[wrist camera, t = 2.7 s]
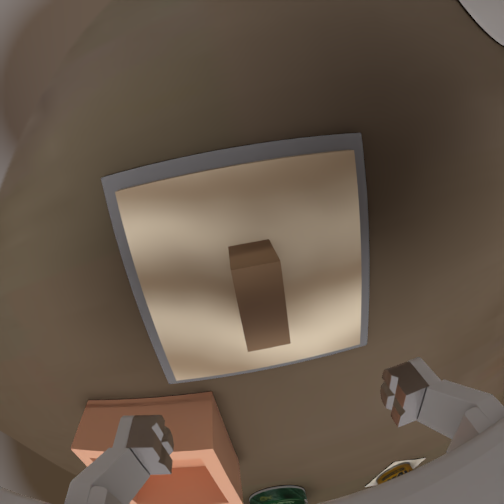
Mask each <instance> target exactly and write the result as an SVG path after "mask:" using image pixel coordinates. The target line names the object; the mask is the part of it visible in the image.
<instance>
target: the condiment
mask: <svg viewBox="0 0 504 504" xmlns="http://www.w3.org/2000/svg"><path fill="white" fill-rule="evenodd" d="M424 459H425V458H421V459H416V460H406V461H397V462H394V463H392V464H391V465H390V466H389V467H387V469H385V470H384V471H383V472H381V473H380V474H379V475H378V476H377V477H376V478H374V479H373V480H372V481H371V482H370V483H369V484H368V485H367V486H365V487H368V486H375V485H379V484H381V483H384V482H387V481H389V480H391V479H394V478H396V477H399V476H401V475H403V474H406V473H408V472H410V471H412V470H413V469H414V468H415V467H416V466H417V465H419V464H420V463H421V462H422V461H423V460H424Z"/></svg>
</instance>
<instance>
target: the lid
mask: <svg viewBox="0 0 504 504" xmlns="http://www.w3.org/2000/svg"><path fill="white" fill-rule="evenodd" d="M115 194H116V199H117V203H118V207H119V211H120V215H121V219H122V223H123V227H124V230H125V234H126V238H127V241H128V245H129V248H130V252H131V255H132V259H133V262H134V265H135V269H136V272H137V275H138V278H139V281H140V284H141V288H142V291H143V294H144V297H145V300H146V303H147V305H148V308H149V311H150V314H151V317H152V320H153V322H154V325H155V328H156V331H157V333H158V336H159V339H160V341H161V344H162V346H163V349H164V351H165V354H166V357H167V359H168V361H169V364H170V366H171V369H172V371H173V374H174V376H175V378H176V381H178V380H186V379H194V378H202V377H209V376H216V375H222V374H229V373H235V372H240V371H246V370H252V369H257V368H262V367H267V366H272V365H277V364H282V363H287V362H291V361H296V360H300V359H305V358H309V357H313V356H317V355H321V354H325V353H329V352H333V351H337V350H341V349H344V348H348V347H352V346H355V345H359V344H360V332H361V289H362V278H361V234H360V214H359V198H358V185H357V174H356V164H355V154H354V150H340V151H330V152H321V153H312V154H304V155H296V156H288V157H281V158H274V159H267V160H261V161H255V162H248V163H242V164H237V165H231V166H225V167H220V168H214V169H209V170H204V171H199V172H194V173H189V174H184V175H180V176H175V177H170V178H166V179H162V180H157V181H153V182H149V183H144V184H140V185H136V186H132V187H128V188H124V189H120V190H118V191H116V192H115Z"/></svg>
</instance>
